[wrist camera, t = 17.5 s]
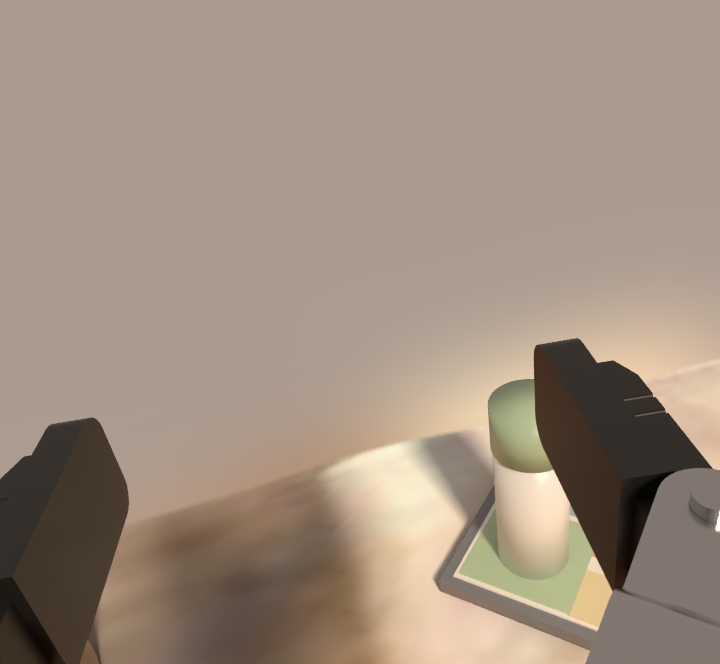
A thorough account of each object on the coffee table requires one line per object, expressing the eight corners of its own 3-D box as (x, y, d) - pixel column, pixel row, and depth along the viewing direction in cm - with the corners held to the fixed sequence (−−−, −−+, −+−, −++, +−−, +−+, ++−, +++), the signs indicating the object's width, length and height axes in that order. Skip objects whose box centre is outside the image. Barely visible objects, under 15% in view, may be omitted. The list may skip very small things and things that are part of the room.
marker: (485, 566, 42) (475, 419, 36) (510, 515, 45) (505, 373, 39) (558, 591, 40) (559, 439, 34) (579, 536, 43) (583, 388, 37)
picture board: (439, 590, 42) (438, 579, 42) (512, 463, 51) (512, 452, 51) (719, 701, 34) (722, 689, 34) (747, 526, 43) (750, 514, 43)
